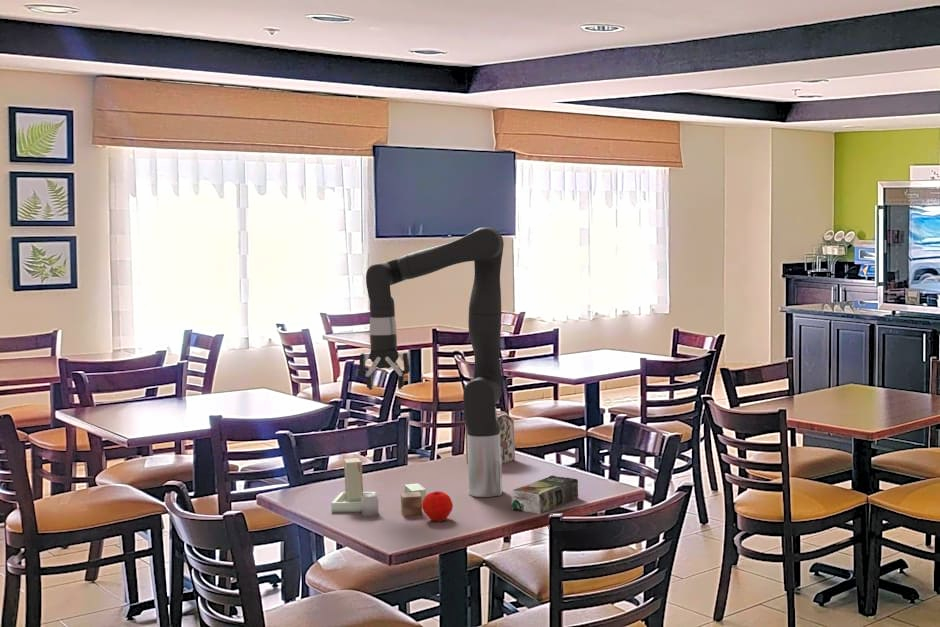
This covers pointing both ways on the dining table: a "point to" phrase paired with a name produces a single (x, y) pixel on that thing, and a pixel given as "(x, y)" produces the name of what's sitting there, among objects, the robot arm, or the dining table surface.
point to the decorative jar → (502, 437)
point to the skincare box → (353, 479)
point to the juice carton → (545, 494)
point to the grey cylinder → (369, 504)
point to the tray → (346, 504)
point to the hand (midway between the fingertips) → (385, 389)
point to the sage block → (416, 489)
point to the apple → (437, 505)
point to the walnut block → (411, 503)
